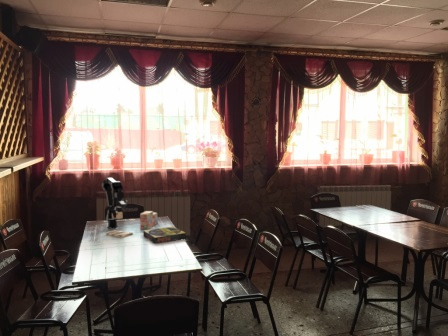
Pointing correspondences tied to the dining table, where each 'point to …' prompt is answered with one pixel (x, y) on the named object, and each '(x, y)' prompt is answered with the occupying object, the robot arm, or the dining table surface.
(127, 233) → the board
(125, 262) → the dining table surface
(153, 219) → the stack of blocks
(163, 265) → the dining table surface
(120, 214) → the block
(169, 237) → the board game box
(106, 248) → the dining table surface
